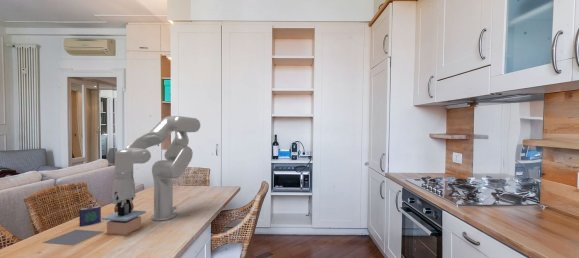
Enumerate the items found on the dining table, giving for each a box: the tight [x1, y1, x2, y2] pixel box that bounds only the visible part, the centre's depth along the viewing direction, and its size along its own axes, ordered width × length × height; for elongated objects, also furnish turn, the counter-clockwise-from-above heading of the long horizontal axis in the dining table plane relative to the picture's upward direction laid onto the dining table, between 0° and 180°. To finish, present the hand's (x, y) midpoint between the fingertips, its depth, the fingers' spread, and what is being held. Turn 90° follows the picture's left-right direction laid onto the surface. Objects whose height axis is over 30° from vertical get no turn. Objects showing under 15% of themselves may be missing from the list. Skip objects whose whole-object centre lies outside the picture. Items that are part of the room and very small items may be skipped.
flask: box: [78, 204, 102, 228], centre depth 145 cm, size 9×3×11 cm, turn 138°
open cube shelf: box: [106, 215, 142, 237], centre depth 135 cm, size 10×10×6 cm
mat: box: [42, 229, 104, 246], centre depth 128 cm, size 16×16×1 cm
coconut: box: [113, 200, 135, 213], centre depth 160 cm, size 10×9×10 cm
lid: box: [101, 203, 147, 221], centre depth 136 cm, size 13×13×6 cm
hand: (124, 213), depth 136 cm, fingers closed on lid, 3 cm apart
